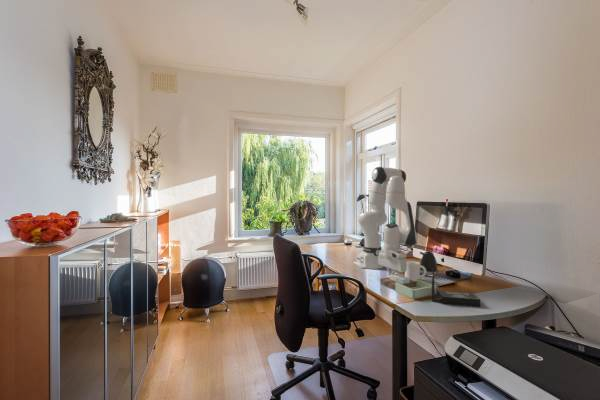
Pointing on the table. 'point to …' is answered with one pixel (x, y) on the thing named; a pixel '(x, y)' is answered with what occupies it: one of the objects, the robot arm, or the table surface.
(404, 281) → the tile front
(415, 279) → the mug
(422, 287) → the tray
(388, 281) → the walnut board
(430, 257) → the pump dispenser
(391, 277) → the tile rear
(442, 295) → the black rod on base
